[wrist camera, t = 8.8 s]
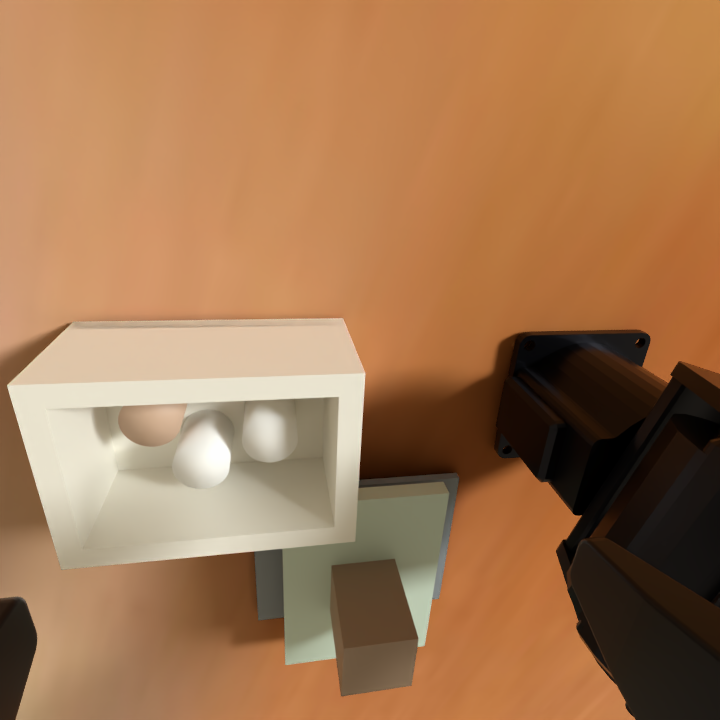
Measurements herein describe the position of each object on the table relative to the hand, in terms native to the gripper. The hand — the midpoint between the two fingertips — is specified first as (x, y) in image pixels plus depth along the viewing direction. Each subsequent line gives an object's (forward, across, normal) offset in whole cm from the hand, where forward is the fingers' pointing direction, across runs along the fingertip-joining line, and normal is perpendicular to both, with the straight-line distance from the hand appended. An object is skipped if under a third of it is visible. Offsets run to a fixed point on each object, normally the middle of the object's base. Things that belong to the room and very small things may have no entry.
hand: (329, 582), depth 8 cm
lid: (+11, -3, +13) cm, 17 cm away
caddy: (+12, +3, +4) cm, 13 cm away
